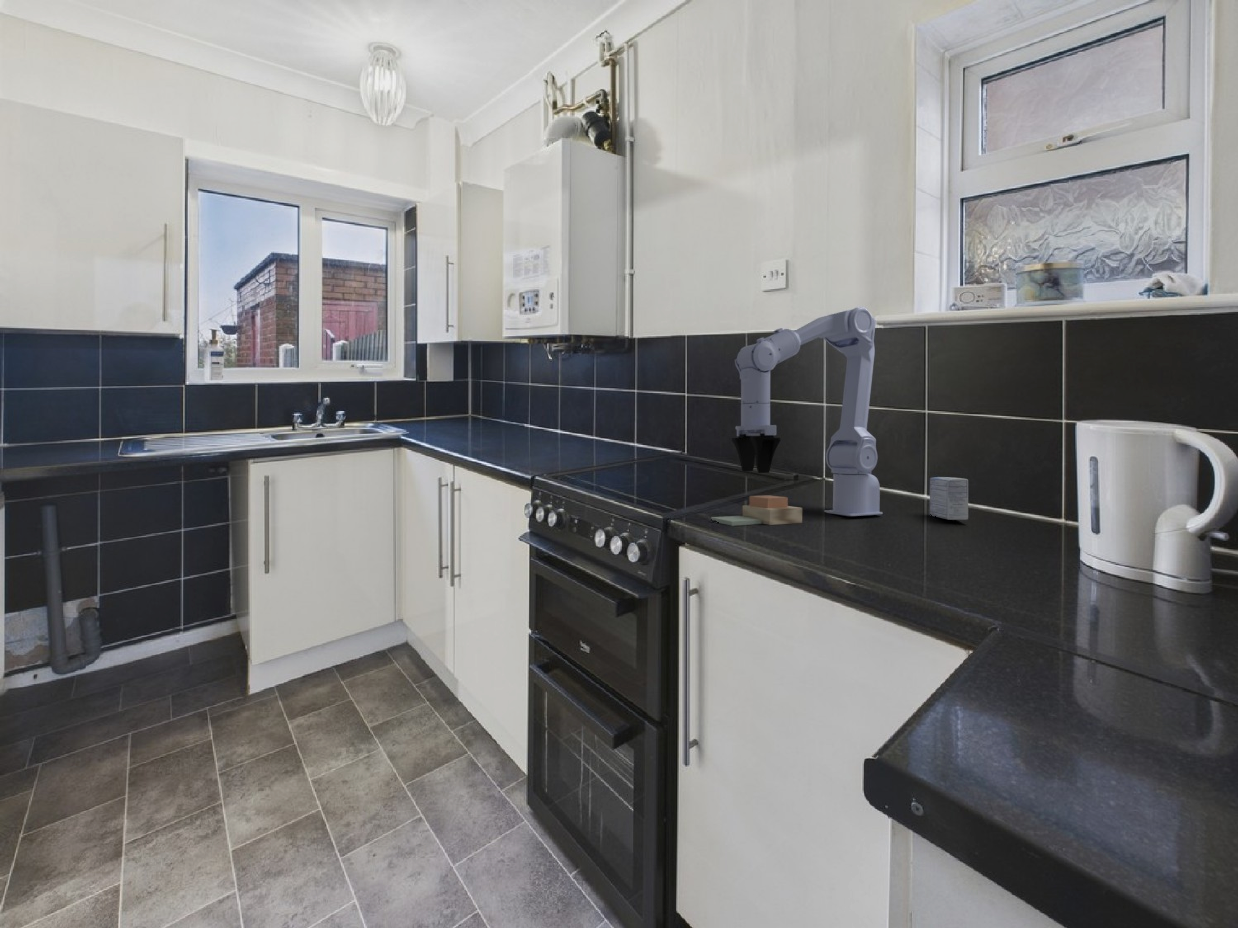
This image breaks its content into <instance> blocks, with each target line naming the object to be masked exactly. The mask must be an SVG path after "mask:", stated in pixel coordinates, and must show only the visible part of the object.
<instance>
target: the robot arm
mask: <svg viewBox="0 0 1238 928" xmlns="http://www.w3.org/2000/svg"><path fill="white" fill-rule="evenodd" d="M875 330H876V319H875V318H874V316H873V314H872V313H871V312H870V311H869V309H868V308H866V307H864V306H857V307H854V308H853V309H848V310H842V311H839V312H835V313H831V314H827V315H824V316H820V317H817V318H815V319H813V320H812V321H810V322H809V323H806V324H805V325H803V326H800V327H799V328H797V329H795V330H792V329H789V328H783V327H781V328H780V327H779V328H777V329H774V330H773V334H772V335H770V336H767V337H760V338H758V339H756V343H753V344H751V345H746V346H743V347H742V348H741V349H740V350H739V351H738V353H737V357H736V359H734V365H735V368H736V369H737V371H738V373H739V380H740V393H741V394H740V404H741V405H740V425H736V426H735V430H736V437H733V438H731V441H732V443H733V444H734V445H733V446H734V447H735V448H736V451H737V454H738V458H739V463H740V467H741V471H742V472H753V471H754V468H755V464H756V469H757V470H756V471H757V473H758V474H769V473H770V472H771V466H772V462H773V460H774V459H773V458H774V455H775V452H776V450H777V448H778V446H779V444H780V442H781V440H782V439H781V437H775V436H776V435H777V425H776V424H773V425H772V424H771V371H772V370H774V368H775V367H776V365H778V364H780V363H782V362H783V361H786V360H788V359H789V358H793V356H795V355H797V354H798V352H799V351H800V349H801V346H802V345H804V344H807V343H809V342H811V341H813V340H816V339H818V338H819V339H824V341H825V342H826V343H828V344H829V345H830V346H831V347H833V348H834V349H835V350H837V351H838V352H839V353H841V354H843V355H844V356H845V358H846V369H845V377H844V387H843V395H842V396H843V397H842V407H841V416H840V424H839V425H840V426H839V429H838V430H837V431H835V433H833V435H832V436H831V437H830V442H829V447H828V448H827V449H826V453H825V462H826V464H827V465H826V466H827V467H828V468H829V469H830V470H831V471H830V472H831V474H833V475H832V476H833V479H832V481H833V483H832V485H833V486H832V491H833V492H832V493H833V494H832V495H833V496H832V498H833V499H832V509H830V510H829V509H828V510H824V513H827V514H831V515H832V514H833V515H839V516H846V517H858V516H859V517H860V516H874V515H875V516H876V515H883V511H880V497H881V496H880V495H881V492H880V491H881V489H880V488H881V487H880V482H879V479H878V478H877V477H876V476H875V475H873V474H872V471H873V470H874V469H875V468H876V466H877V464H878V457H879V455H878V452H877V446H876V445H877V439H876V437H874V436H873V434H871V433H870V432H869V431H868V430H867V429H868V420H869V411H870V408H869V407H870V400H871V391H872V382H873V381H872V380H873V372H874V362H875V353H876V351H875V350H876V349H875V342H874V341H875V333H876V332H875Z"/></svg>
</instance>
